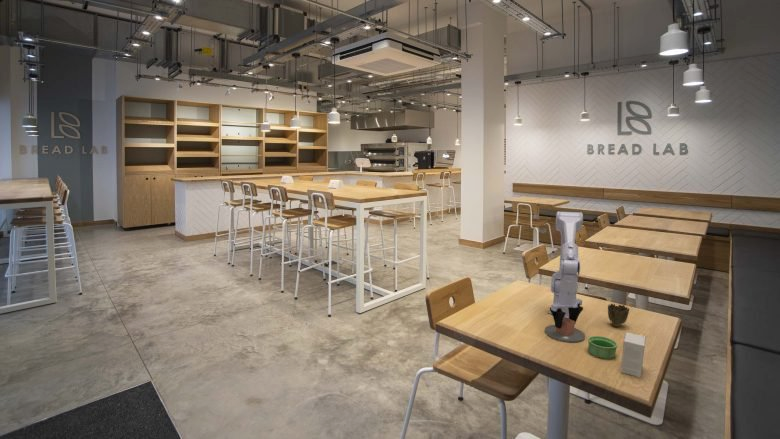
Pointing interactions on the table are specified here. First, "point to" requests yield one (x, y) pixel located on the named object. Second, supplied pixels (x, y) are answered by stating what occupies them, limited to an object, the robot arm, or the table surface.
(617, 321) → the cup
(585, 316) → the table surface
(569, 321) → the block
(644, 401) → the table surface
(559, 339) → the plate
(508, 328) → the table surface
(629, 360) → the small box
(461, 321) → the table surface
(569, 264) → the robot arm
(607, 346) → the ramekin
